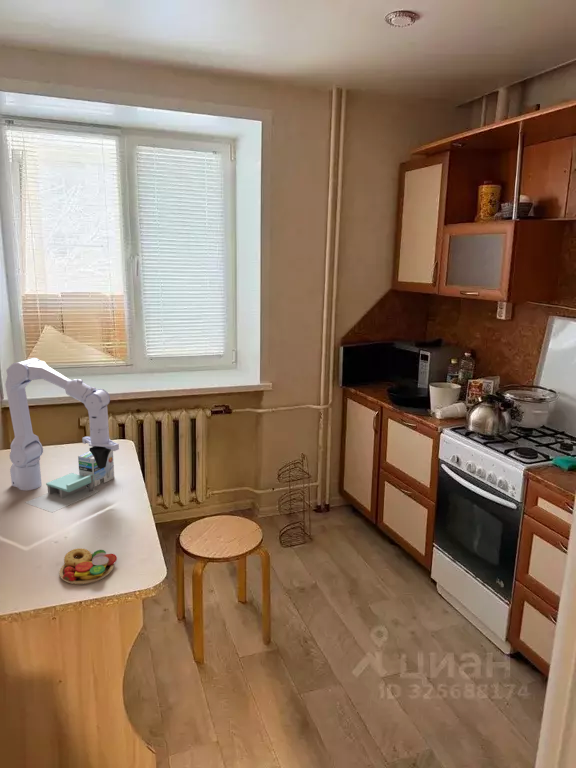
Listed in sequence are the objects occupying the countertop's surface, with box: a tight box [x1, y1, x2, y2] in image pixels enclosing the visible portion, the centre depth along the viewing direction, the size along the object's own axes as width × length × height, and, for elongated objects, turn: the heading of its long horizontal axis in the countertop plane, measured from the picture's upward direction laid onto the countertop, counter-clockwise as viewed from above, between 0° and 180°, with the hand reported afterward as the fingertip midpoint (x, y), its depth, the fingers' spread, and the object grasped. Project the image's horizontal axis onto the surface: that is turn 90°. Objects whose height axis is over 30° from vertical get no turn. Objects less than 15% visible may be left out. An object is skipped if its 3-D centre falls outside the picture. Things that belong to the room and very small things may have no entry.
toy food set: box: [58, 547, 118, 586], centre depth 135 cm, size 13×13×3 cm
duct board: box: [24, 482, 100, 513], centre depth 174 cm, size 13×18×4 cm
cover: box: [45, 472, 94, 492], centre depth 176 cm, size 11×10×2 cm
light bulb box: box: [77, 450, 115, 487], centre depth 187 cm, size 11×7×11 cm, turn 160°
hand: (101, 467), depth 176 cm, fingers closed
